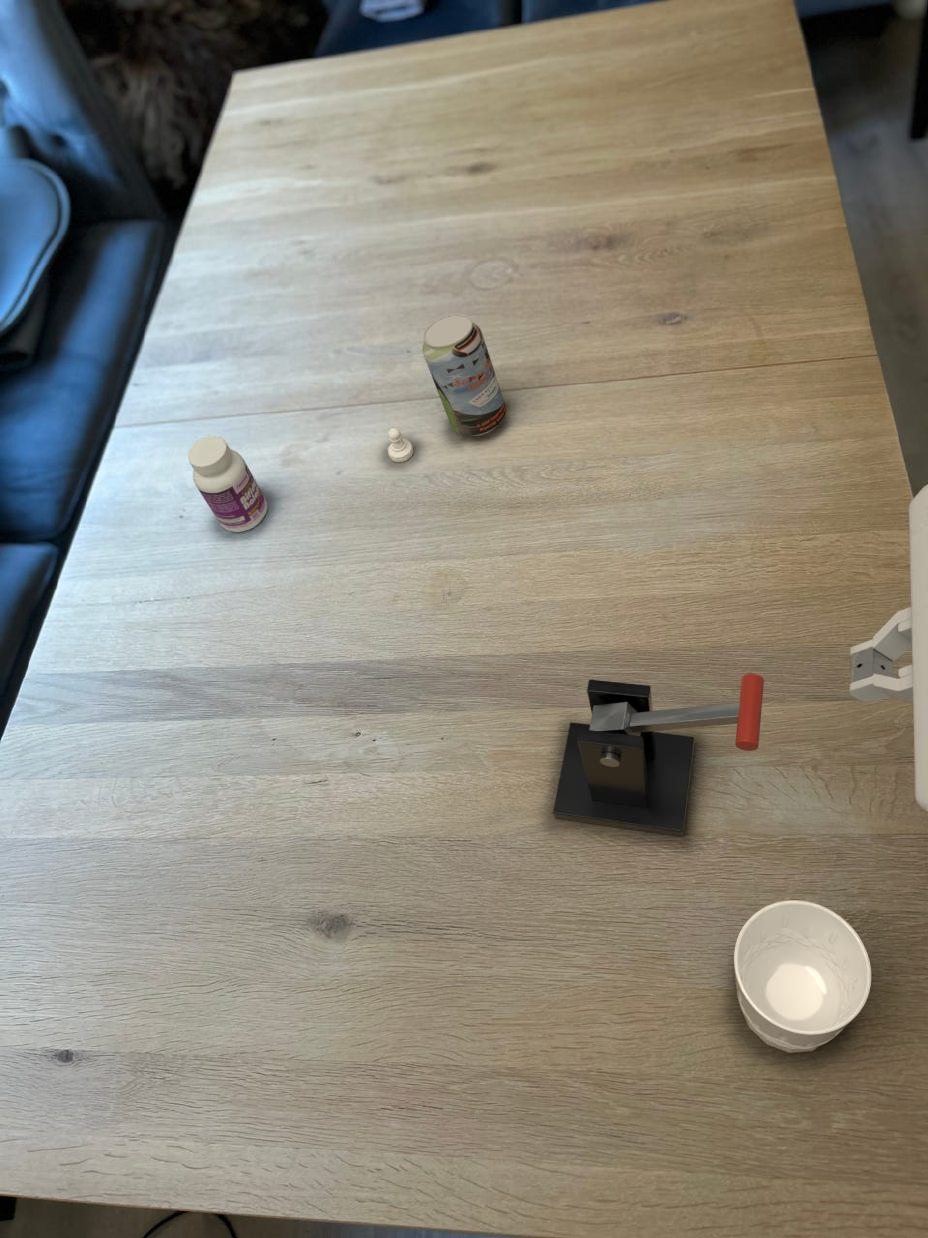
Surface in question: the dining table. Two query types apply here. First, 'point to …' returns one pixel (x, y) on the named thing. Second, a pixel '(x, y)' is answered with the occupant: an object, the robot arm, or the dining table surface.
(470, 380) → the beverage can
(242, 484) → the pill bottle
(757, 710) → the power lever
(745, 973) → the white cup
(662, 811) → the switch bracket
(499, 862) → the dining table surface
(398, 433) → the chess pawn
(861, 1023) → the dining table surface
